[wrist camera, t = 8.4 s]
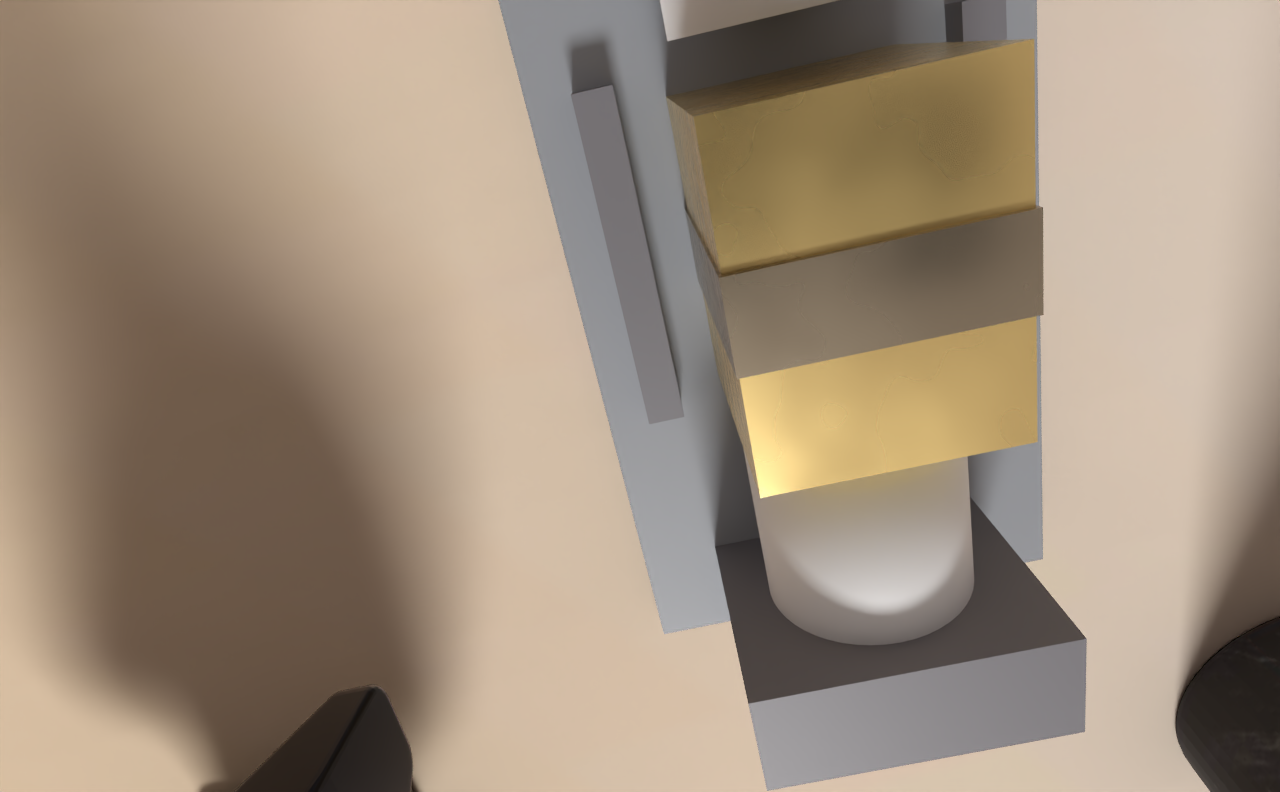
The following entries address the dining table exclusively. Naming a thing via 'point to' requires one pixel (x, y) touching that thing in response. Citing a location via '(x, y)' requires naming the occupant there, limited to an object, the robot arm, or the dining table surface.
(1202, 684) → the travel mug
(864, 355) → the banded gold block
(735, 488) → the grey bracketed cradle
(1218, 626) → the dining table surface
